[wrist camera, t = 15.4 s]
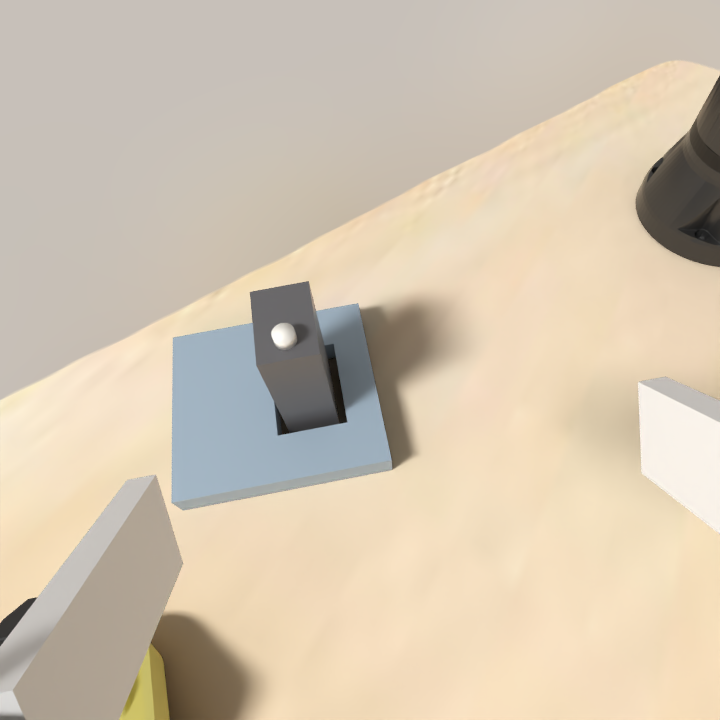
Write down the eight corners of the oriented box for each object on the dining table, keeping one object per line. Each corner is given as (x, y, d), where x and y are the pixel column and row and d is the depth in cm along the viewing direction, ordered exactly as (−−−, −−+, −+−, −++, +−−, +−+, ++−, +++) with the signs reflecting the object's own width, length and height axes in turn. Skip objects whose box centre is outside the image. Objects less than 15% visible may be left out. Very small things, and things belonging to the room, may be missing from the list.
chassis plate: (360, 317, 53) (358, 303, 50) (392, 469, 45) (391, 460, 42) (182, 351, 52) (172, 337, 50) (183, 510, 44) (171, 502, 42)
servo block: (329, 366, 50) (306, 272, 38) (340, 427, 47) (317, 346, 35) (284, 374, 50) (246, 283, 38) (291, 436, 47) (252, 358, 35)
